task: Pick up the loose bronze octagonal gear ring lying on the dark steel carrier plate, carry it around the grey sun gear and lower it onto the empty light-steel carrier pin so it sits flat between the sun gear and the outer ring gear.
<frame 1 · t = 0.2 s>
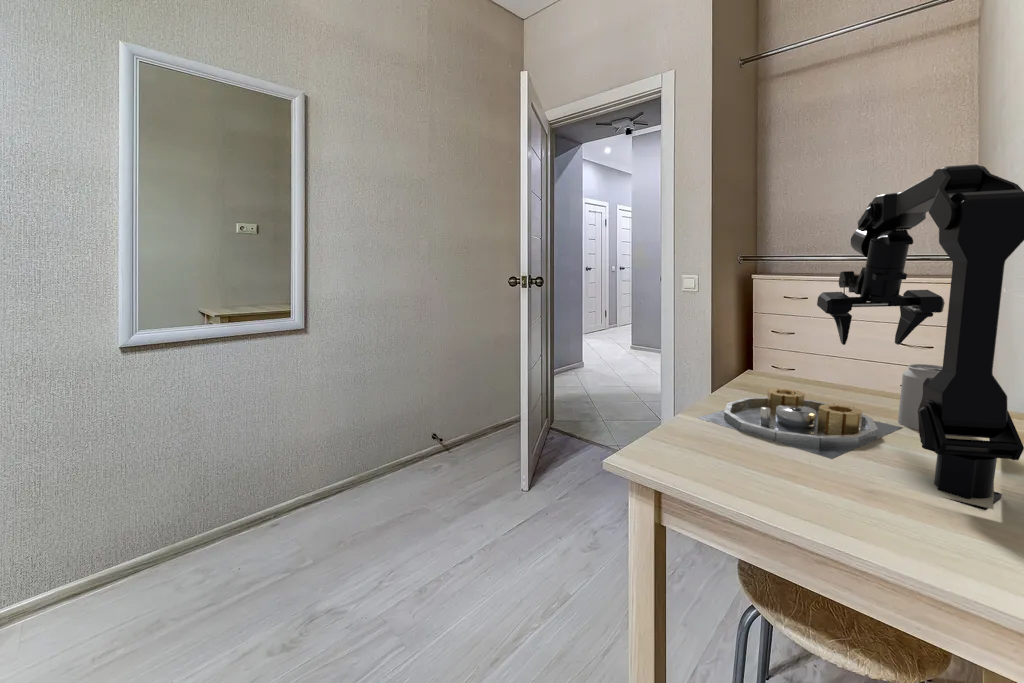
hand: (869, 343, 94), 15 cm above the table, tool pointing down, fingers open, 9 cm apart
can: (922, 431, 89), on the table
sun gear: (795, 422, 92), resting on carrier
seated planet: (784, 411, 99), resting on carrier
planet gear: (838, 430, 87), point 1 cm above the table, touching carrier
carrier: (794, 427, 92), on the table
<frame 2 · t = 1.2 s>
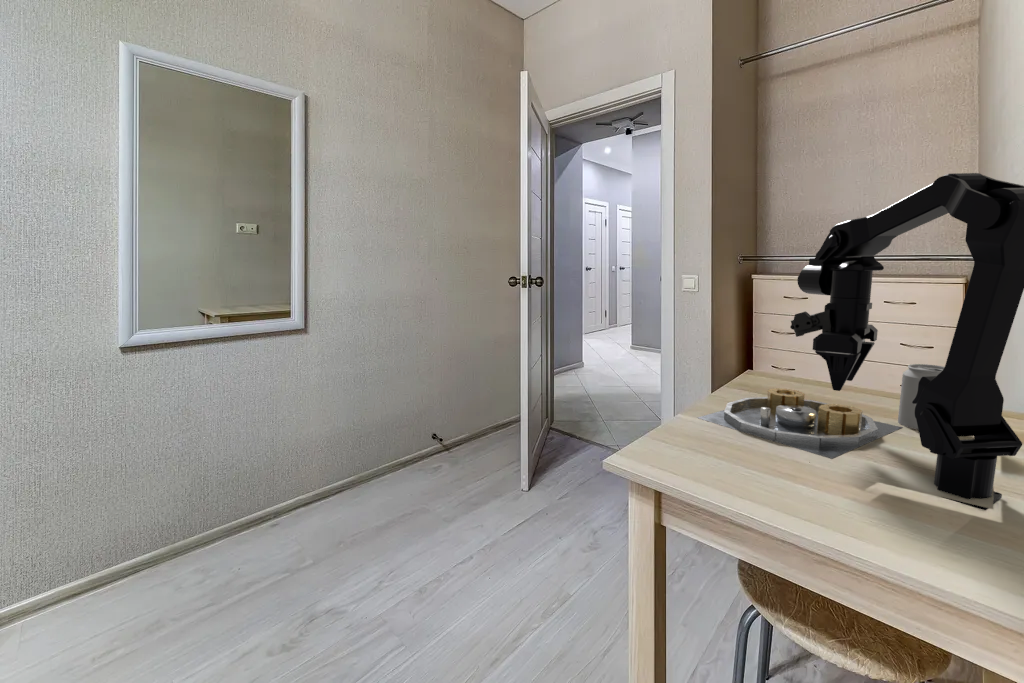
hand: (842, 385, 86), 9 cm above the table, tool pointing down, fingers open, 9 cm apart
nothing on the table moved.
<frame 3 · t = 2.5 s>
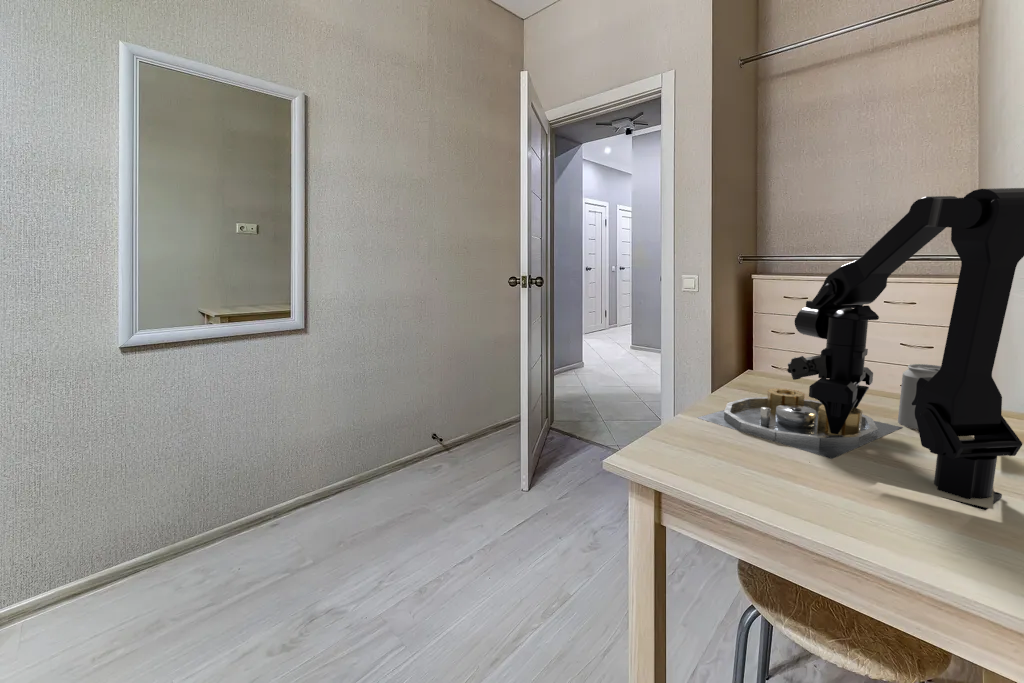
hand: (838, 428, 87), 1 cm above the table, tool pointing down, fingers closed on planet gear, 6 cm apart
planet gear: (838, 430, 87), point 1 cm above the table, touching carrier, gripper
everything else where it was.
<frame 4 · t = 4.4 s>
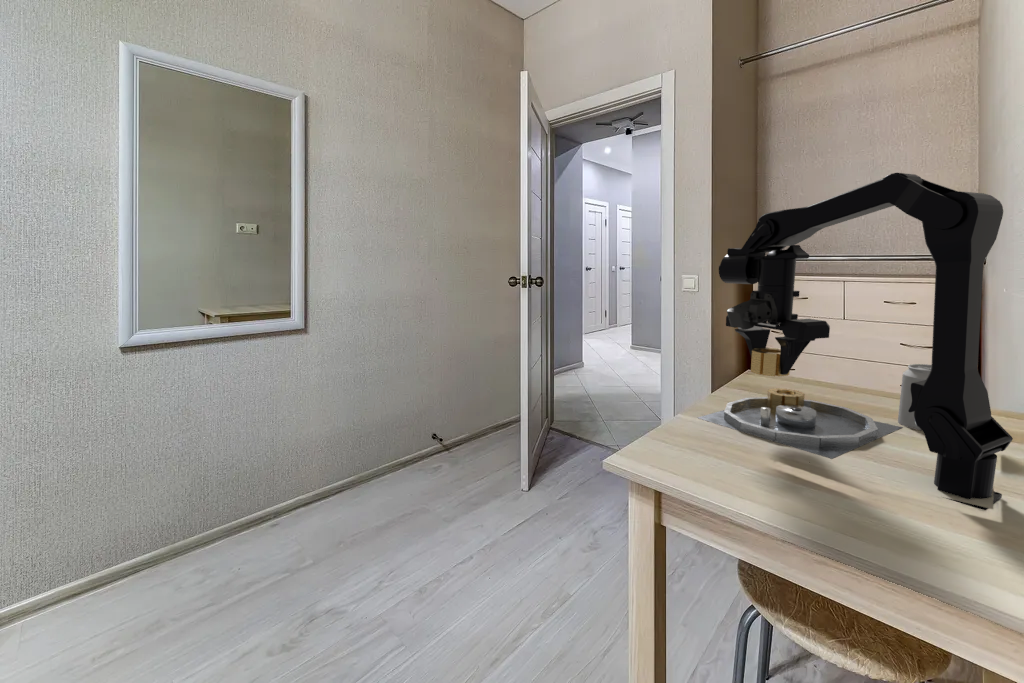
hand: (770, 370, 89), 12 cm above the table, tool pointing down, fingers closed on planet gear, 6 cm apart
planet gear: (769, 372, 89), point 11 cm above the table, touching gripper
everything else where it was.
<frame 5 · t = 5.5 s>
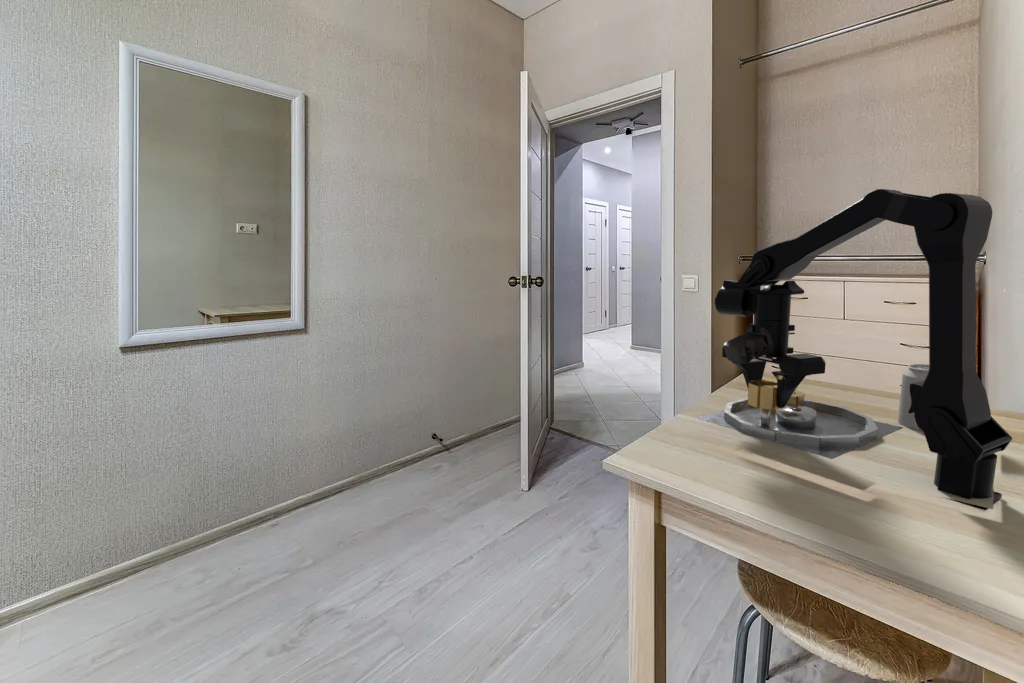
hand: (766, 402, 90), 6 cm above the table, tool pointing down, fingers closed on planet gear, 6 cm apart
planet gear: (766, 404, 90), point 5 cm above the table, touching gripper
everything else where it was.
when the fingers open (3 cm above the table, at t = 6.5 s): planet gear drops 1 cm, resting on carrier.
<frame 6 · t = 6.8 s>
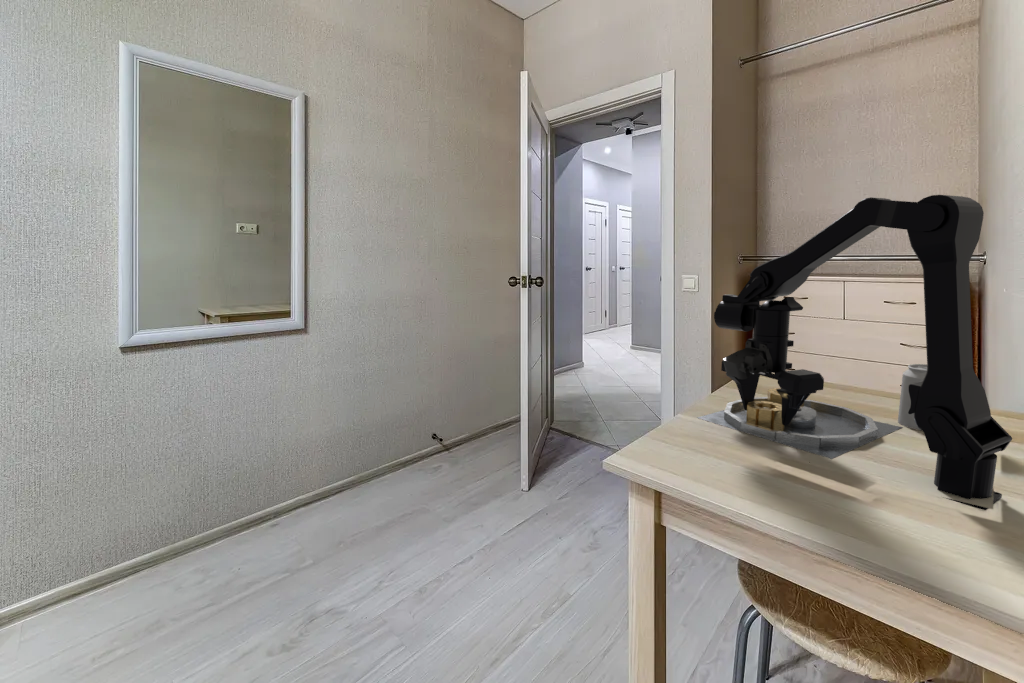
hand: (765, 417, 90), 3 cm above the table, tool pointing down, fingers open, 9 cm apart
planet gear: (764, 426, 90), point 1 cm above the table, touching carrier
everything else where it was.
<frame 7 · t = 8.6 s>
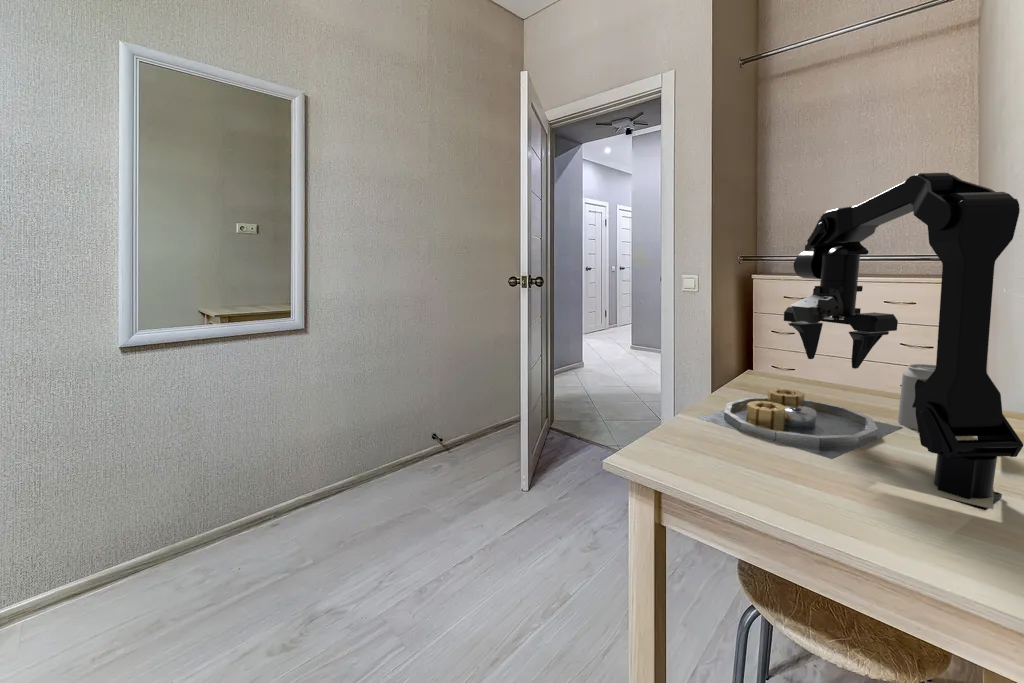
hand: (831, 363, 91), 12 cm above the table, tool pointing down, fingers open, 9 cm apart
nothing on the table moved.
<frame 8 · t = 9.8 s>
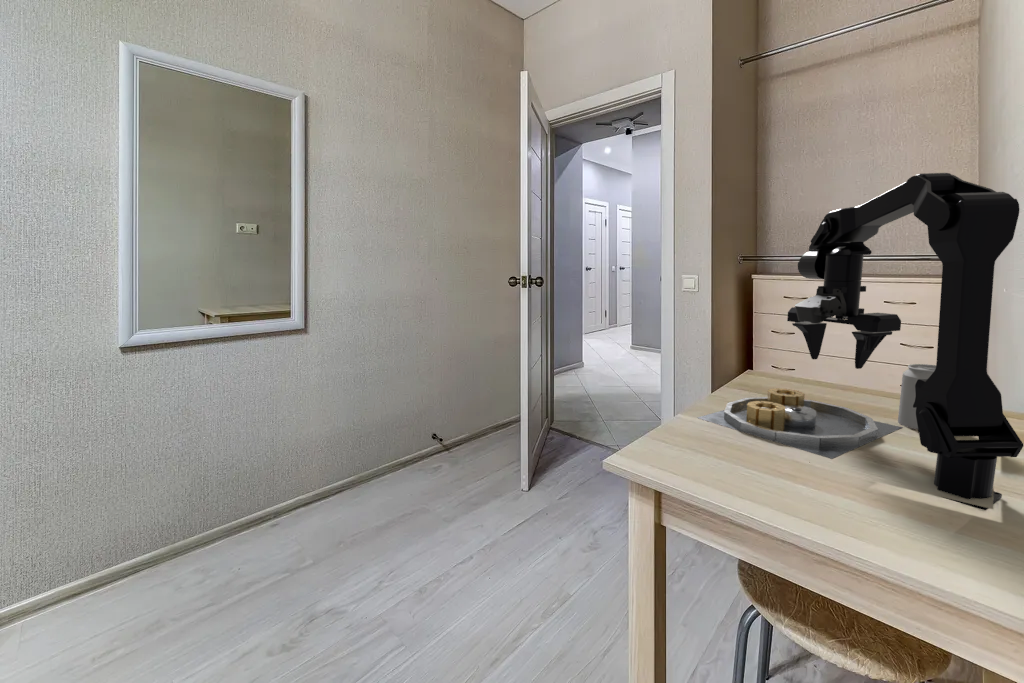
hand: (835, 363, 91), 12 cm above the table, tool pointing down, fingers open, 9 cm apart
nothing on the table moved.
at the end: planet gear 0.0 cm from the target spot, point 1.0 cm above the table; planet gear tilted 0°; the gripper is holding nothing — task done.
